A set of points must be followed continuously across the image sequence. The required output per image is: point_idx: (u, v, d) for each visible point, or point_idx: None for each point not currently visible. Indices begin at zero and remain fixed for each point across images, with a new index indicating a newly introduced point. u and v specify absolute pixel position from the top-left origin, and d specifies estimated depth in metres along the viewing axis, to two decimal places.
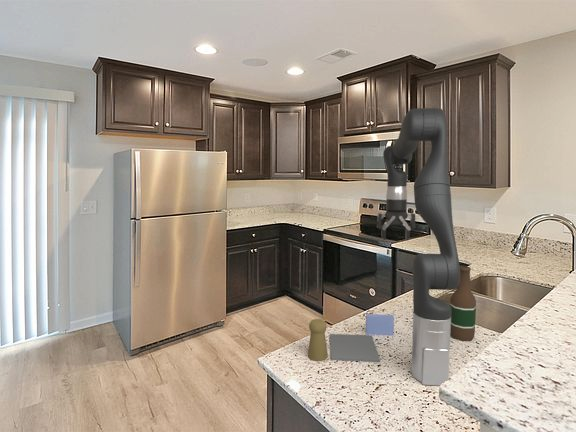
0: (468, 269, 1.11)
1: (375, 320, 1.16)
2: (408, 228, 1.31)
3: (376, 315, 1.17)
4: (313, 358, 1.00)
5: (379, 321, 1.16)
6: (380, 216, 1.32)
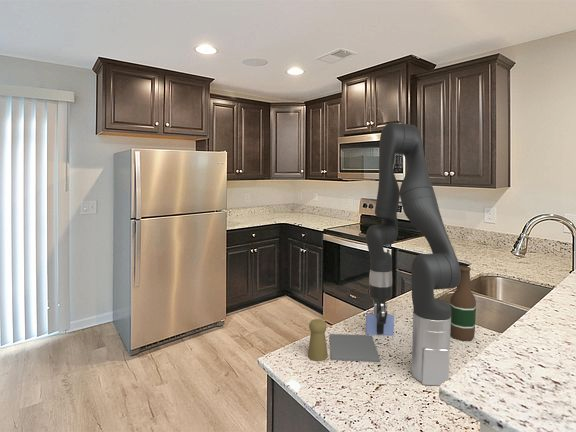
0: (468, 269, 1.11)
1: (375, 320, 1.16)
2: None
3: None
4: (313, 358, 1.00)
5: None
6: None
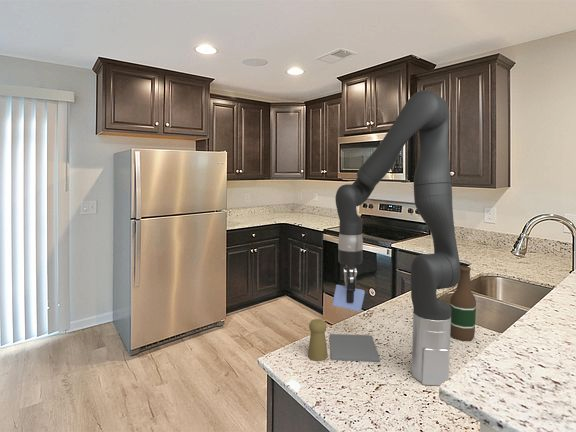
0: (468, 269, 1.11)
1: (344, 292, 1.08)
2: None
3: None
4: (313, 358, 1.00)
5: None
6: (355, 279, 1.03)
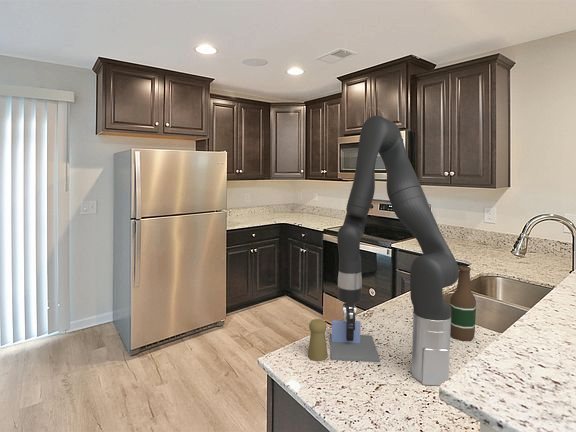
0: (468, 269, 1.11)
1: (341, 326, 1.09)
2: None
3: (342, 321, 1.10)
4: (313, 358, 1.00)
5: (345, 328, 1.09)
6: (355, 315, 1.03)
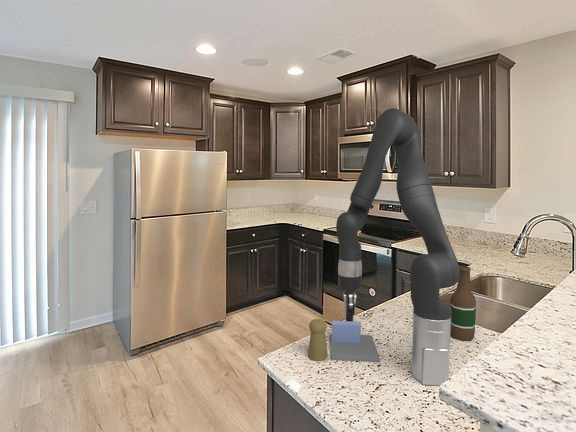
0: (468, 269, 1.11)
1: (341, 328, 1.09)
2: None
3: (342, 322, 1.09)
4: (313, 358, 1.00)
5: (345, 329, 1.08)
6: (354, 305, 1.06)
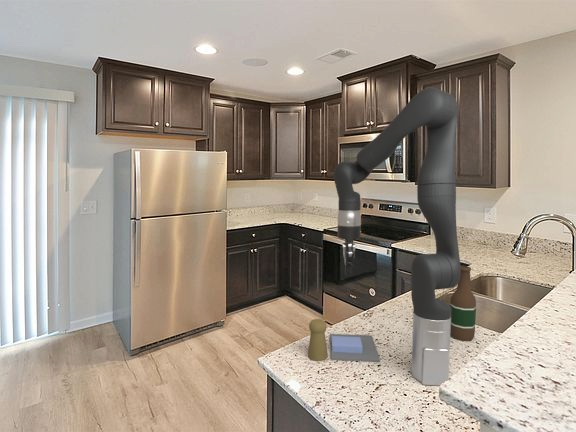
0: (468, 269, 1.11)
1: None
2: None
3: (343, 349, 1.03)
4: (313, 358, 1.00)
5: None
6: (354, 254, 1.07)
